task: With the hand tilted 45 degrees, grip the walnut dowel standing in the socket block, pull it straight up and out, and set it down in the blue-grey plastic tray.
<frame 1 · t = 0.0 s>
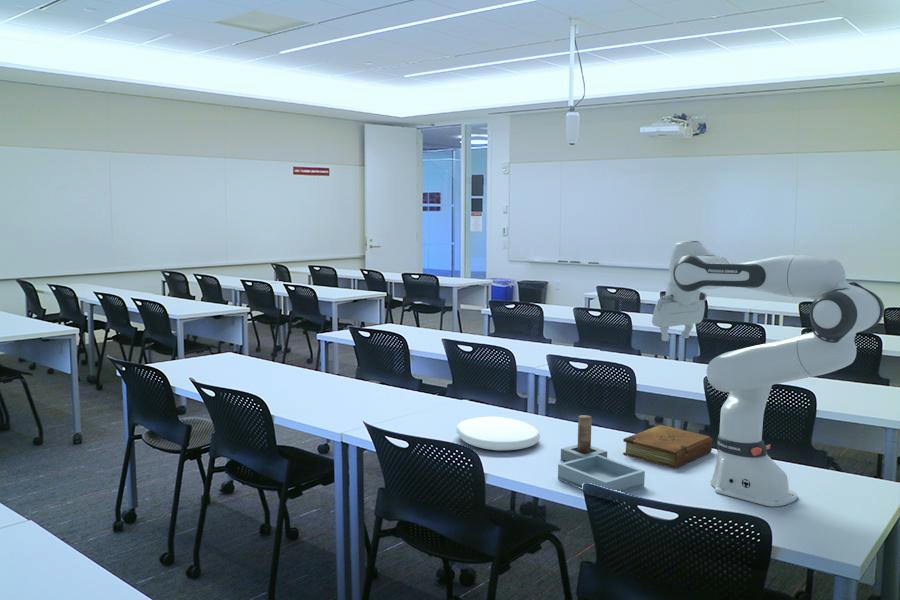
hand: (675, 339, 221), 39 cm above the table, tool pointing down, fingers open, 8 cm apart
dowel: (583, 461, 227), resting in socket block
tray: (600, 482, 208), on the table
plate: (497, 442, 247), on the table
diary: (667, 455, 236), on the table
socket block: (583, 460, 227), on the table
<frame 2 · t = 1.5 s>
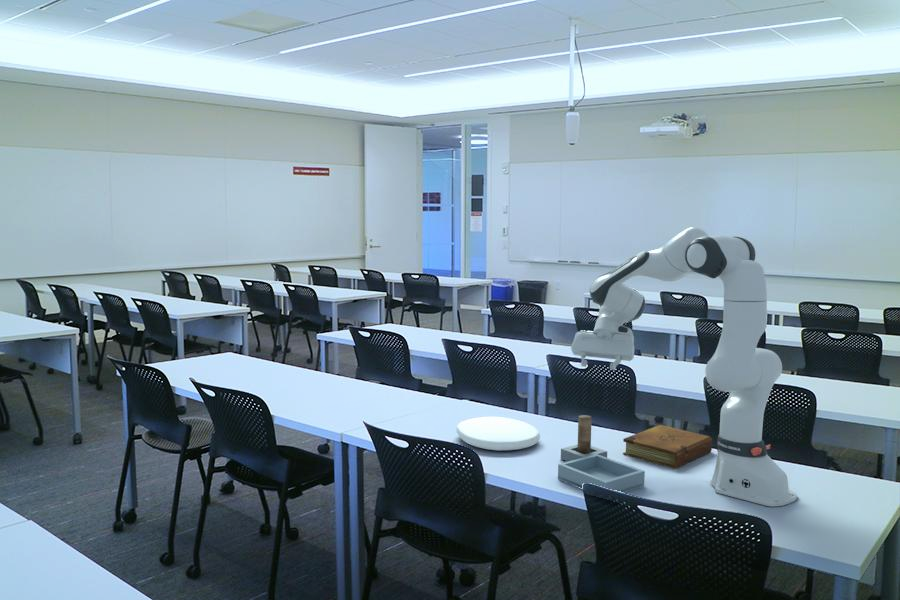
hand: (597, 367, 235), 27 cm above the table, tool tilted 45°, fingers open, 8 cm apart
nothing on the table moved.
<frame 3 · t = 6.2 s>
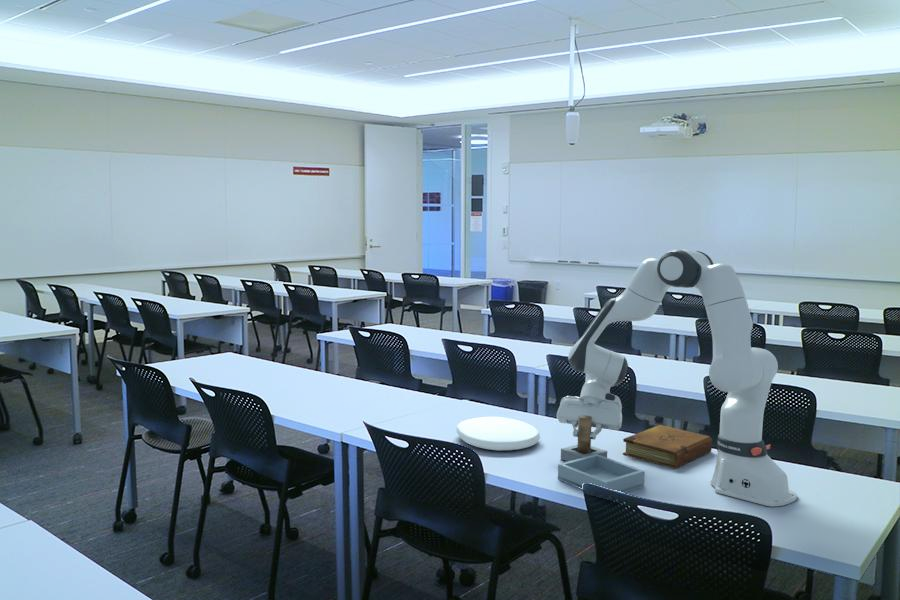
hand: (583, 437, 226), 8 cm above the table, tool tilted 45°, fingers closed on dowel, 4 cm apart
dowel: (583, 461, 227), resting in socket block, touching gripper
everything else where it was.
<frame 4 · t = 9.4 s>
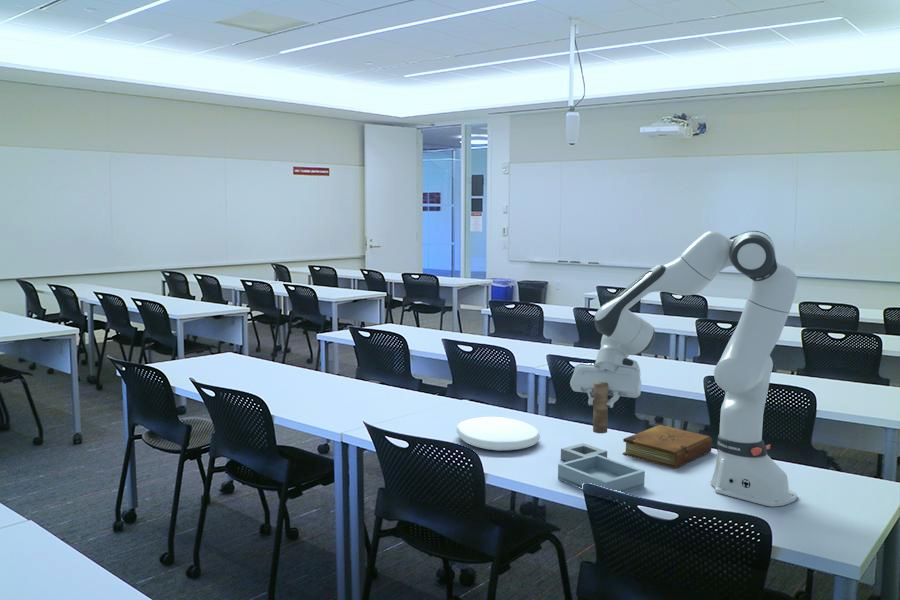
hand: (600, 405, 209), 22 cm above the table, tool tilted 45°, fingers closed on dowel, 4 cm apart
dowel: (600, 431, 210), point 14 cm above the table, touching gripper
everything else where it was.
when the fingers open (10 cm above the table, at t = 12.4 s): dowel drops 1 cm, resting on tray.
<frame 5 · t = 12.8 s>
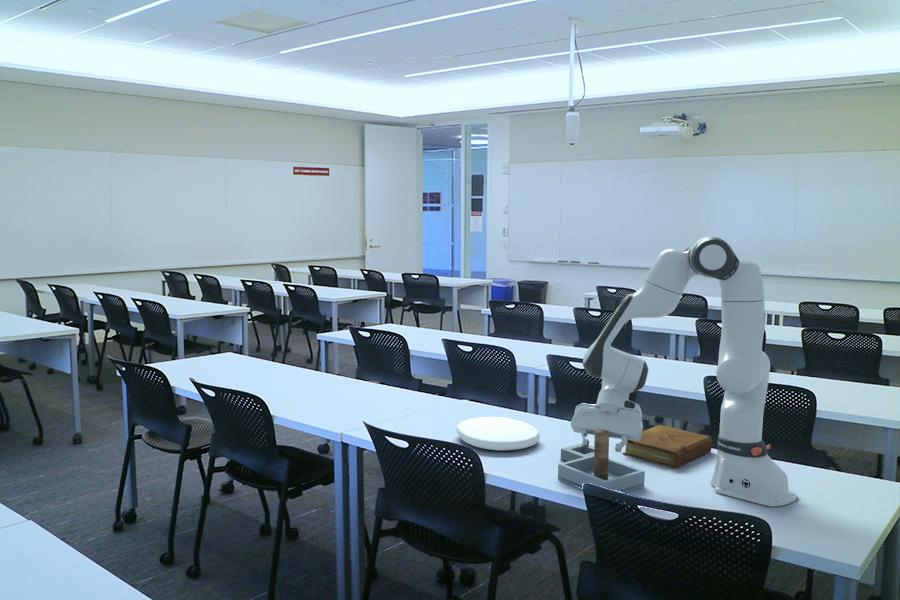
hand: (601, 448, 207), 10 cm above the table, tool tilted 45°, fingers open, 8 cm apart
dowel: (600, 479, 208), point 1 cm above the table, touching tray
everything else where it was.
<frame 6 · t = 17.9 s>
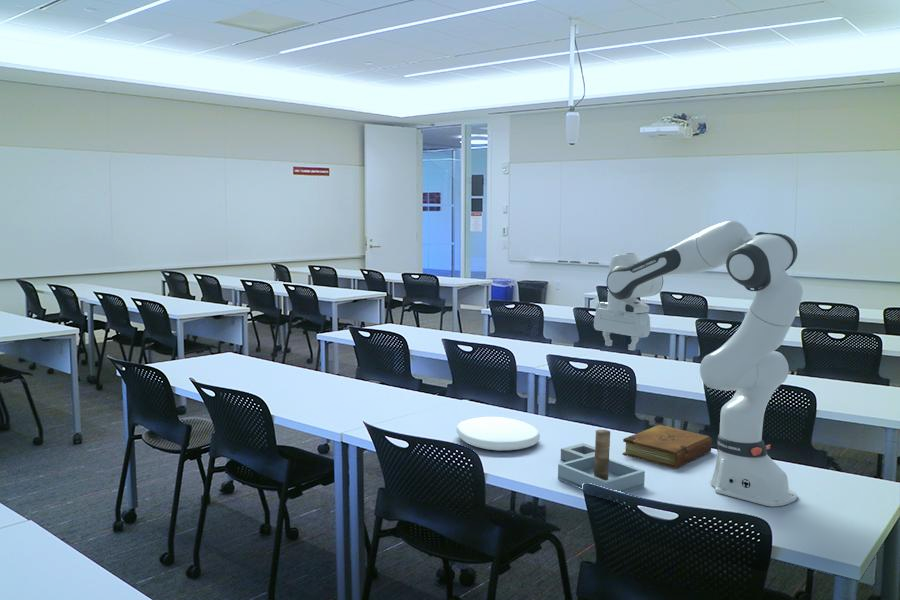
hand: (620, 347, 232), 34 cm above the table, tool pointing down, fingers open, 8 cm apart
nothing on the table moved.
at the end: dowel inside the target area on the tray (0.1 cm from its centre), point 1.0 cm above the tray's base; the gripper is holding nothing; dowel touching tray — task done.
